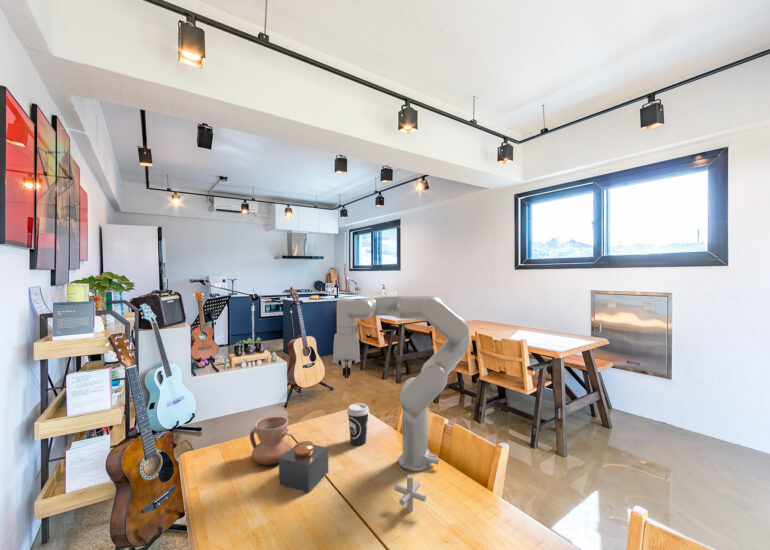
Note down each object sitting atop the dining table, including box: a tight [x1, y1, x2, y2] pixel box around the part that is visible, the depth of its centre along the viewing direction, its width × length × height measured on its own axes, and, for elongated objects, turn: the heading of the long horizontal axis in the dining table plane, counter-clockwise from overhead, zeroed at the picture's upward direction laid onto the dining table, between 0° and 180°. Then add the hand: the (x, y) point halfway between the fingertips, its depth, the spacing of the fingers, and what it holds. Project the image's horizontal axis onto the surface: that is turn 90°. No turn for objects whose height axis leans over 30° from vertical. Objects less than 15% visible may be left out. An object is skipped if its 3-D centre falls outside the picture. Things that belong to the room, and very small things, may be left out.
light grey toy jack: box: [393, 474, 427, 512], centre depth 100 cm, size 10×10×10 cm
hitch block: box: [278, 444, 329, 494], centre depth 116 cm, size 12×12×9 cm
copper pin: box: [294, 440, 315, 458], centre depth 116 cm, size 6×6×10 cm
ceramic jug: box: [249, 416, 293, 466], centre depth 129 cm, size 18×14×14 cm
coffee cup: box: [346, 402, 370, 447], centre depth 141 cm, size 10×10×15 cm
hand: (346, 377), depth 130 cm, fingers closed
